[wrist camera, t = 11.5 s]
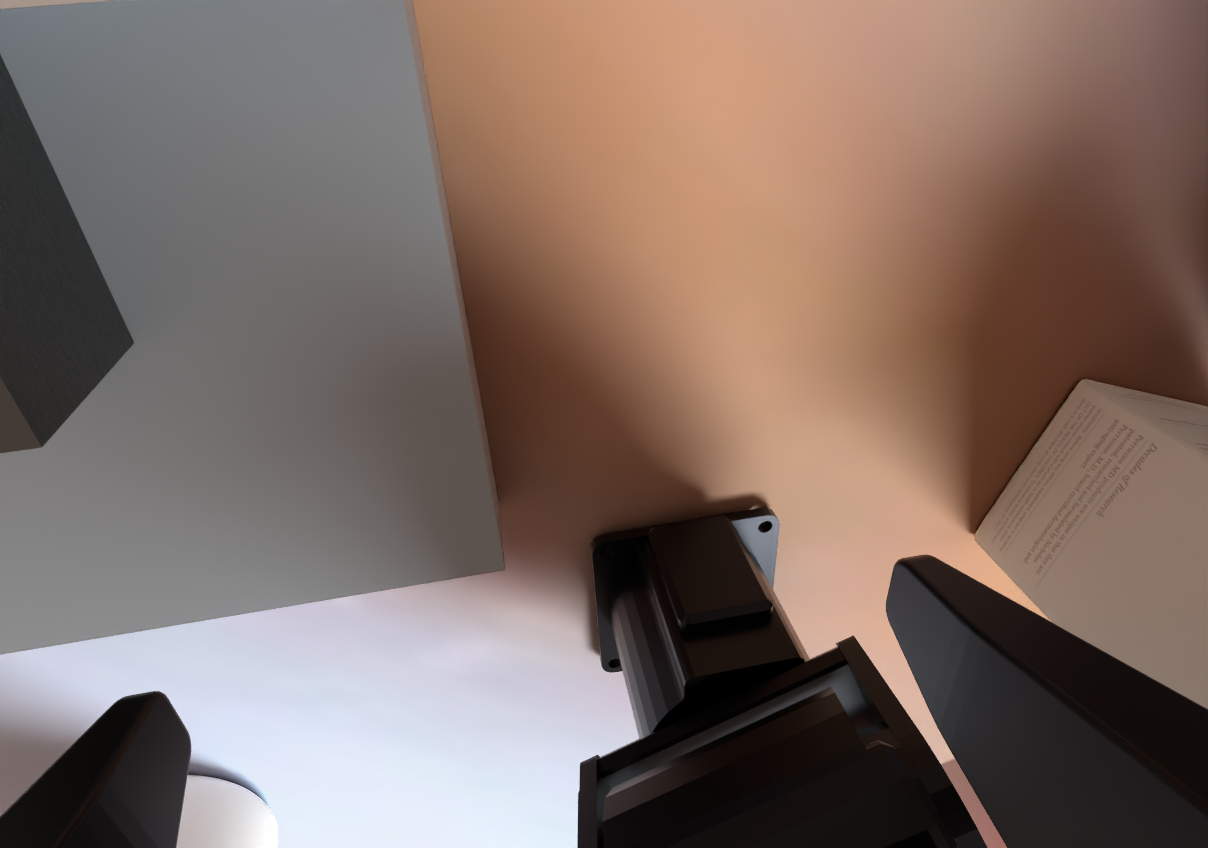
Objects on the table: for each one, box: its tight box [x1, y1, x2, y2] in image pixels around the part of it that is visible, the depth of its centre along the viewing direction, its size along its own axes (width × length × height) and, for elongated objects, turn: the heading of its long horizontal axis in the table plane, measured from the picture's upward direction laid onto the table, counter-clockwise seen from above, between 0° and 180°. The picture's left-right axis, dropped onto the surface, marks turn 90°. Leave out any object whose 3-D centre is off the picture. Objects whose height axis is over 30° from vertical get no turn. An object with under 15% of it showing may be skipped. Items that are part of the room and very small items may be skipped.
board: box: [0, 0, 505, 655], centre depth 16 cm, size 16×16×3 cm
